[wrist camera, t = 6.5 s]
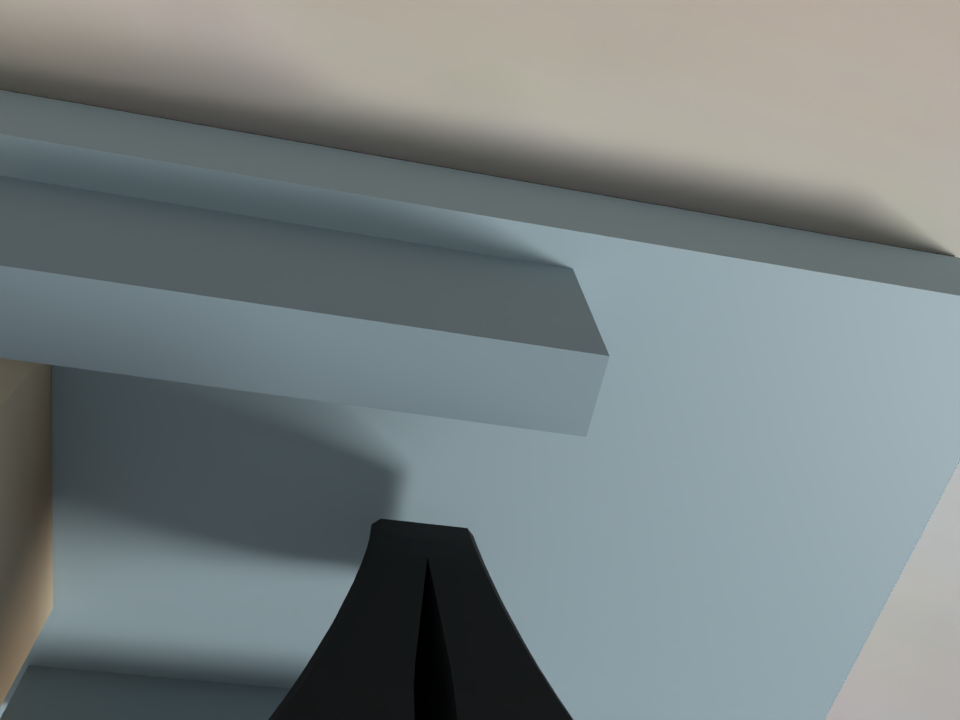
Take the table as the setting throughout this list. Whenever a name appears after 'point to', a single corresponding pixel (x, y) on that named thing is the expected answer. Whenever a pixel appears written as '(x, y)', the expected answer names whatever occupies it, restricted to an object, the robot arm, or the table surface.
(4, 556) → the block
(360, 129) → the table surface
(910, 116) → the table surface
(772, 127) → the table surface
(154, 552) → the deck
